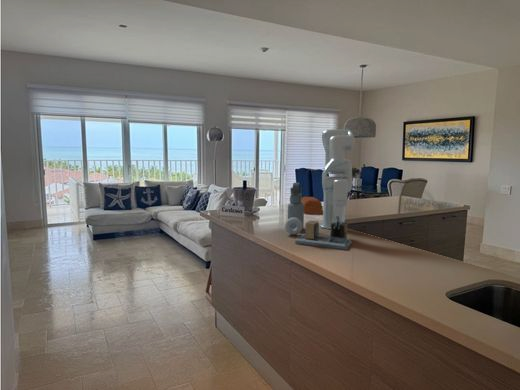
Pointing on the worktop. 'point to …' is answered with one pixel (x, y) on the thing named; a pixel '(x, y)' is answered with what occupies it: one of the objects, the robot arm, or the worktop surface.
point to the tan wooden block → (342, 230)
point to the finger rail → (321, 238)
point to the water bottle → (296, 205)
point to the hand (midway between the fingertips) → (338, 234)
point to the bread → (312, 205)
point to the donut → (297, 229)
